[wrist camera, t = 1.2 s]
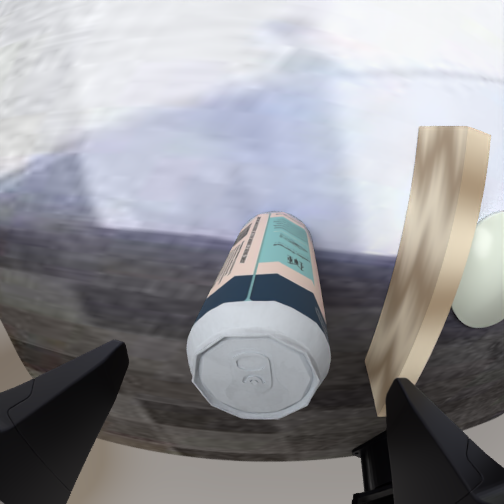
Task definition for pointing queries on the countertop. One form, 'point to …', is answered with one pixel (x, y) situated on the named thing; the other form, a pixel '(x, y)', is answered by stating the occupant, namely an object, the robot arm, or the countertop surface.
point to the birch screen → (429, 253)
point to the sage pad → (483, 276)
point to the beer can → (263, 324)
